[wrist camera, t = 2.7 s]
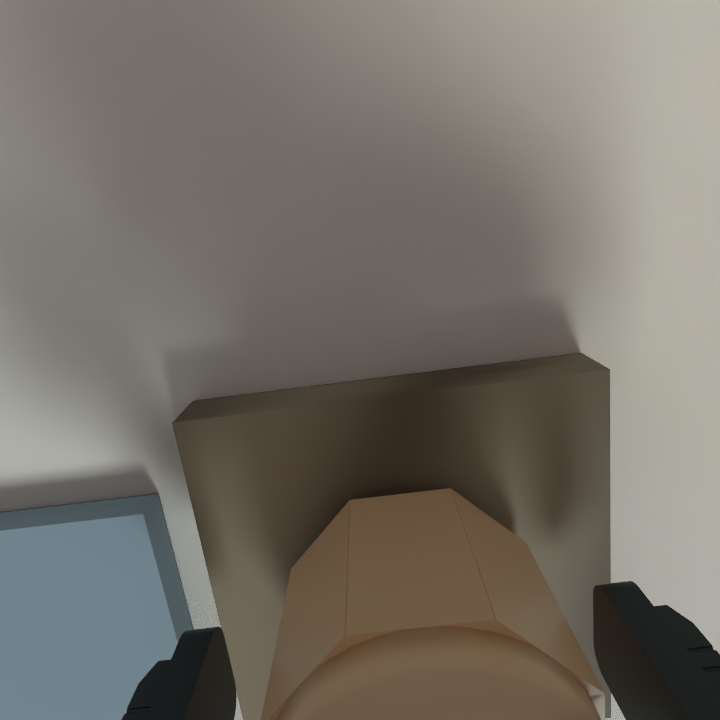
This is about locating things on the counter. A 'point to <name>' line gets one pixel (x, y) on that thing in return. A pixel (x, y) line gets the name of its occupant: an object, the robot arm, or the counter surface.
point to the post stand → (398, 480)
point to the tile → (85, 607)
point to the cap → (424, 622)
